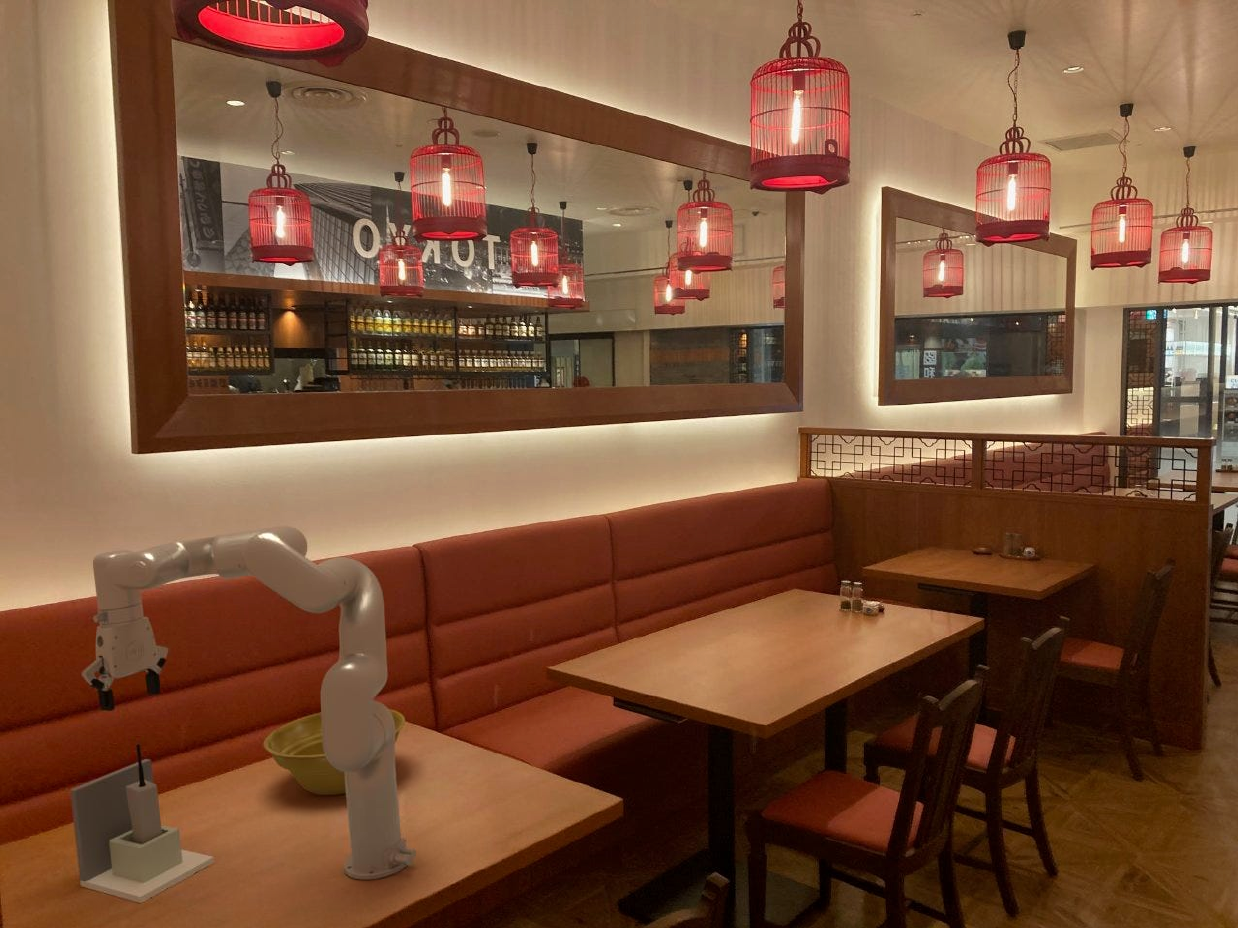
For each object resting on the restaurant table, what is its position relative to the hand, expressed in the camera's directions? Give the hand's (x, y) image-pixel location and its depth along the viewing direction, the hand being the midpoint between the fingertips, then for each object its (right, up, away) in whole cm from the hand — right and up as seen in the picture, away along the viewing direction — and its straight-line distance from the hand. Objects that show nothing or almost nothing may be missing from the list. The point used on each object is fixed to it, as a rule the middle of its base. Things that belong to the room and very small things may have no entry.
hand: (131, 701), depth 181 cm
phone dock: (+2, -35, +2) cm, 35 cm away
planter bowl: (+28, -30, +41) cm, 59 cm away
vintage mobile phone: (+2, -34, +2) cm, 34 cm away
